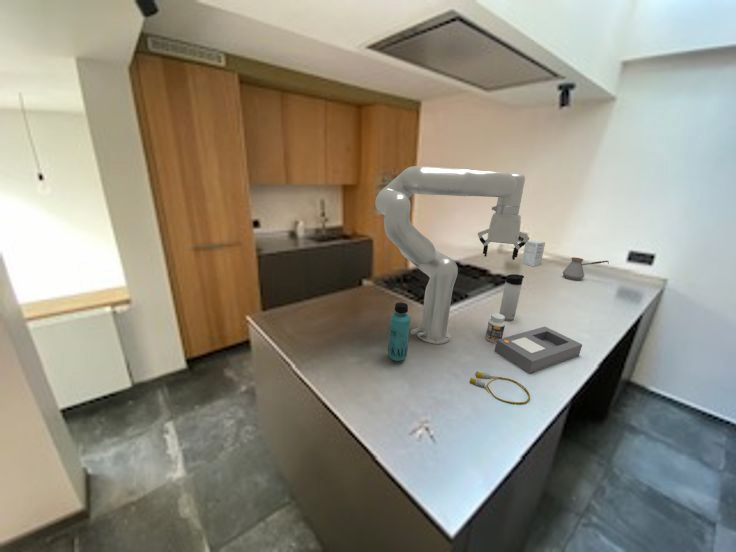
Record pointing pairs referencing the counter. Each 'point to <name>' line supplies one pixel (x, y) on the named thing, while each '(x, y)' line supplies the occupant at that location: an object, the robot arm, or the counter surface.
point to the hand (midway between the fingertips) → (499, 257)
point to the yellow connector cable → (487, 376)
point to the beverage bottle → (399, 332)
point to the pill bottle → (495, 327)
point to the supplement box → (533, 253)
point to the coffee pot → (577, 269)
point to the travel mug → (511, 296)
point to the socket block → (537, 349)
